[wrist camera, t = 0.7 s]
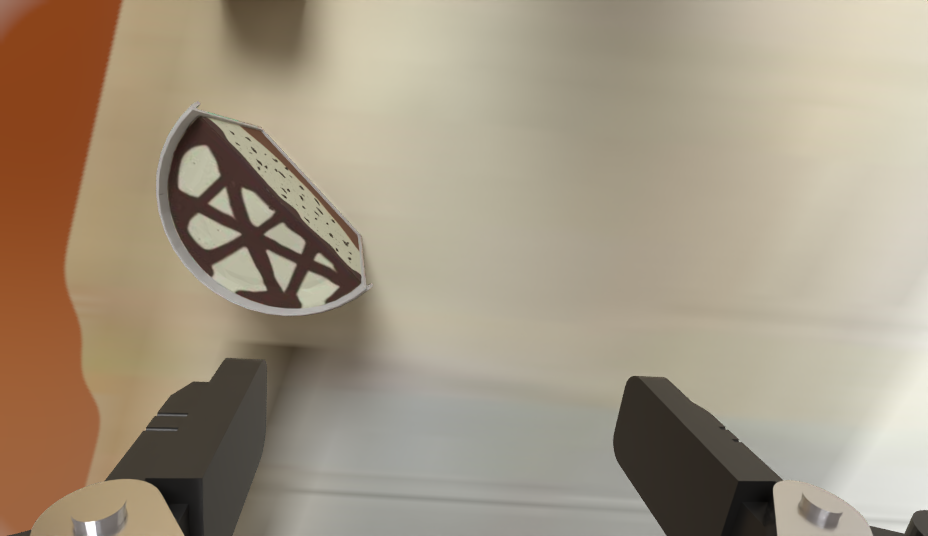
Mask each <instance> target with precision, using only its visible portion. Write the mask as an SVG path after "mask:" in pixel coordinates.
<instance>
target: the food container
mask: <svg viewBox="0 0 928 536" xmlns="http://www.w3.org/2000/svg"><path fill="white" fill-rule="evenodd" d="M200 104H201V103H200V102H199V101H197V102H195V103H193V104H192V105H191V106H190V107H189V108H188V109H187V110H186V111H185V112H184V113H183V114H182V116H181V117H180V118H179V119H178V121H177V122H176V124H175V125H174V127H173V128H172V130H171V132H170V133H169V135H168V137H167V139H166V142H165V144H164V147H163V149H162V152H161V155H160V160H159V164H158V169H157V179H156V196H157V203H158V211H159V215H160V218H161V221H162V225H163V228H164V231H165V234H166V236H167V238H168V240H169V242H170V244H171V246H172V248H173V250H174V251H175V253H176V254H177V255H178V257H179V258H180V260H181V261H182V263H183V264H184V265H185V267H186V268H187V269H188V270H189V271H190V272H191V273H192V274H193V275H194V276H195V277H196V278H197V279H198V280H199V281H200V282H201V283H203V284H204V285H205V286H206V287H208V288H209V289H210V290H212V291H213V292H214V293H216V294H218V295H219V296H221V297H223V298H225V299H226V300H228V301H230V302H232V303H234V304H237V305H239V306H242V307H244V308H247V309H249V310H253V311H257V312H261V313H265V314H271V315H280V316H305V315H311V314H317V313H323V312H326V311H329V310H332V309H335V308H338V307H340V306H342V305H344V304H346V303H348V302H350V301H352V300H354V299H356V298H358V297H359V296H360V295H362V294H363V293H365V292H366V291H367V290H369V289H370V288H371V287H372V286H373V284H372V283H371V284H369V285H368V286H367V285H366V277H365V267H364V257H363V248H362V238H361V235H360V234H359V233H358V231H357V230H356V229H355V228H354V227H353V226H352V225H351V224H350V223H349V222H348V221H347V220H346V218H345V217H344V216H343V215H342V214H341V213H340V212H339V211H338V210H337V209H336V208H335V207H334V206H333V204H332V203H331V202H330V201H329V200H328V199H327V198H326V197H325V196H324V195H323V194H322V193H321V191H320V190H319V189H318V188H317V187H316V186H315V185H314V184H313V183H312V182H311V181H310V180H309V179H308V177H307V176H306V175H305V174H304V173H303V172H302V171H301V170H300V169H299V168H298V167H297V166H296V165H295V163H294V162H293V161H292V160H291V159H290V158H289V157H288V156H287V155H286V154H285V153H284V152H283V150H282V149H281V148H280V147H279V146H278V145H277V144H276V143H275V142H274V141H273V140H272V139H271V138H270V136H269V135H268V134H267V133H266V132H265V131H264V130H263V129H262V128H261V127H259V126H255V125H252V124H248V123H245V122H241V121H238V120H234V119H230V118H227V117H223V116H220V115H216V114H213V113H209V112H206V111H202V110H199V109H197V107H198V106H199V105H200Z"/></svg>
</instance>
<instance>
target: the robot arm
mask: <svg viewBox="0 0 928 536" xmlns="http://www.w3.org/2000/svg"><path fill="white" fill-rule="evenodd" d="M266 397H267V365H266V361H265V360H260V359H236V358H226V359H225V360H224V361H223V362H222V364H221V365H220V367H219V368H218V370H217V371H216V373H215V374H214V376H213V377H212V379H211V380H210V382H192V383H190V384H189V385H187V386H185V387H184V388H182V389H181V390H179V391H177V392H176V393H174V394H172V395H171V396H170V397H169V398H168V400H167V401H166V402H165V404H164V405H163V406H162V408H161V409H160V410H159V411H158V414H157V416H155V417H154V418H153V419H152V420H151V422H150V423H149V424H148V426H147V427H146V431H143V432H142V433H141V435H140V436H139V437H138V439H137V440H136V441H135V442H134V444H133V445H132V446H131V448H130V449H129V450H128V452H127V453H126V454H125V455H124V457H123V458H122V459H121V461H120V462H119V463H118V464H117V466H116V467H115V468H114V470H113V471H112V472H111V474H110V475H109V476H108V477H107V479H106V480H105V481H104V482H100V483H96V484H93V485H90V486H87V487H84V488H82V489H79V490H77V491H75V492H73V493H71V494H69V495H67V496H65V497H64V498H62V499H60V500H59V501H57V502H56V503H55V504H53V505H52V506H50V507H49V508H48V509H47V510H46V511H45V512H44V513H43V514H42V515H41V516H40V517H39V518H38V520H37V521H36V522H35V524H34V526H33V528H32V530H29V531H25V532H21V533H18V534H14V535H9V536H232V535H233V532H234V530H235V527H236V524H237V522H238V519H239V516H240V513H241V511H242V508H243V505H244V503H245V500H246V497H247V494H248V492H249V489H250V486H251V484H252V481H253V478H254V475H255V473H256V470H257V467H258V465H259V462H260V459H261V456H262V452H263V447H264V441H265V433H266ZM613 445H614V452H615V456H616V459H617V461H618V463H619V465H620V466H621V468H622V469H623V471H624V472H625V474H626V475H627V477H628V478H629V480H630V481H631V483H632V484H633V486H634V487H635V489H636V490H637V492H638V493H639V495H640V496H641V498H642V499H643V501H644V502H645V504H646V505H647V507H648V508H649V510H650V511H651V513H652V514H653V516H654V517H655V519H656V520H657V522H658V523H659V525H660V526H661V528H662V529H663V531H664V532H665V534H666V535H667V536H928V510H920V511H917V512H915V513H914V514H913V516H912V518H911V520H910V523H909V525H908V527H907V529H906V531H905V534H903V533H899V532H894V531H890V530H886V529H881V528H877V527H873V526H869V524H868V522H867V521H866V520H865V518H864V517H863V516H862V515H861V514H860V513H859V512H858V511H857V510H856V509H855V508H853V507H852V506H851V505H850V504H848V503H847V502H845V501H844V500H842V499H841V498H839V497H837V496H836V495H834V494H832V493H830V492H828V491H826V490H824V489H822V488H819V487H817V486H814V485H811V484H808V483H804V482H800V481H793V480H785V481H783V480H782V479H781V478H780V477H779V476H778V475H777V474H776V473H775V472H774V471H773V470H771V469H770V468H769V467H768V466H767V465H766V464H765V463H764V462H763V461H762V460H761V459H759V458H758V457H757V456H756V455H755V454H754V453H753V452H752V451H751V450H750V449H749V448H748V447H746V446H745V445H744V444H743V443H742V442H739V441H738V438H737V437H736V436H734V435H733V434H732V433H731V432H730V431H729V430H725V426H724V425H723V424H721V423H720V422H719V421H718V420H717V419H716V418H715V417H714V416H713V415H712V414H711V413H709V412H708V411H706V410H705V409H703V408H701V407H700V406H698V405H696V404H694V403H693V402H691V401H690V400H689V399H688V398H687V397H686V396H685V395H684V394H683V393H682V392H681V391H680V390H679V389H678V388H677V387H675V386H674V385H673V384H672V383H671V382H670V381H669V380H668V379H667V378H664V377H646V376H632V377H630V378H629V380H628V381H627V383H626V386H625V390H624V394H623V398H622V402H621V407H620V411H619V415H618V419H617V423H616V427H615V432H614V438H613Z"/></svg>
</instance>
